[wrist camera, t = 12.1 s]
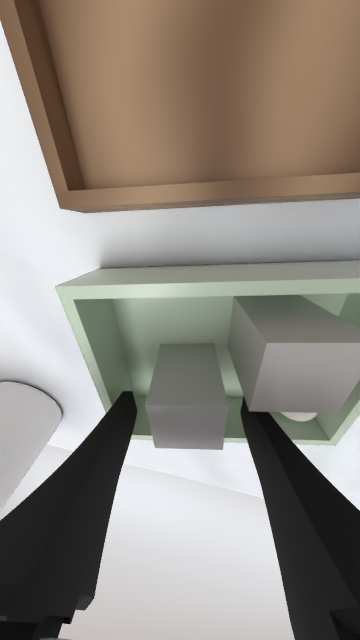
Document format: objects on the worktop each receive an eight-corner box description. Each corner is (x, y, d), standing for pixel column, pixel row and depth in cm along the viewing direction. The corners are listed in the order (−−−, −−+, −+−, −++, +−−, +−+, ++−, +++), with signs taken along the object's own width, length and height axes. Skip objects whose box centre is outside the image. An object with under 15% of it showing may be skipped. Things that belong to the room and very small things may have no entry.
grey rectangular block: (299, 294, 10) (384, 342, 6) (282, 347, 12) (337, 413, 8) (233, 296, 10) (267, 343, 6) (227, 347, 12) (249, 411, 8)
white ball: (308, 368, 13) (339, 403, 10) (297, 394, 14) (322, 431, 12) (269, 368, 13) (289, 403, 10) (261, 393, 14) (278, 430, 12)
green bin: (364, 259, 10) (466, 275, 6) (301, 396, 15) (335, 445, 12) (99, 268, 11) (54, 286, 7) (132, 393, 16) (116, 438, 13)
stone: (214, 343, 12) (228, 406, 8) (211, 381, 14) (222, 449, 10) (160, 343, 12) (144, 405, 8) (165, 381, 14) (155, 447, 10)
